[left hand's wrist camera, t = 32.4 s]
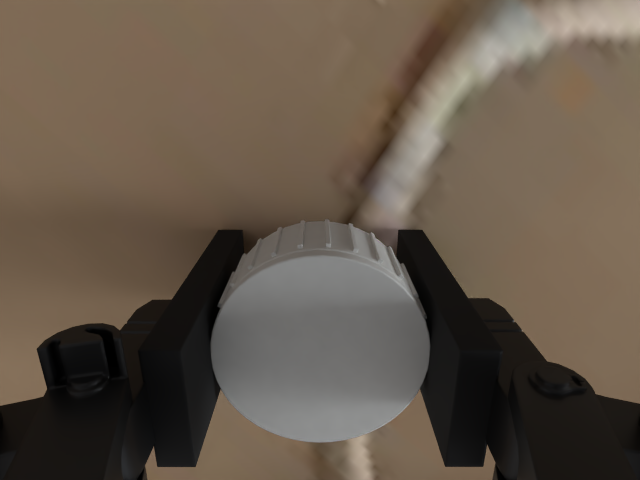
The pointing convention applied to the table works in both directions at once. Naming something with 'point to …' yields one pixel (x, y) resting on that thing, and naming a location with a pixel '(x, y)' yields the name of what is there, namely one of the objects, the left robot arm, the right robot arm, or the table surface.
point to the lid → (320, 334)
